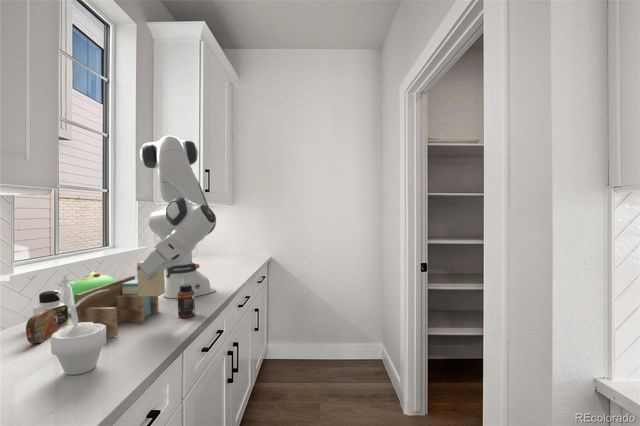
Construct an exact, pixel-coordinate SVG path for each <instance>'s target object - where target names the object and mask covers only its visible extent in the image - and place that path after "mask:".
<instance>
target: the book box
mask: <svg viewBox="0 0 640 426" xmlns="http://www.w3.org/2000/svg"><path fill="white" fill-rule="evenodd" d="M144 261H145V260H142V261H138V262H136V271H137V272H136V273H137V274H136V275H137V280H138V296H158V297H160V296H162V295H164V293H165V287H166V280H165V270H162V271H159V272H156V273H153V274H152V275H151V277H150V278H149V279H148V280H144V279H143V275H144V274H145V273H144V272H143V271H142V270H141V269H140V267H141V265H142V263H143V262H144Z"/></svg>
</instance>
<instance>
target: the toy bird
mask: <svg viewBox="0 0 640 426" xmlns="http://www.w3.org/2000/svg"><path fill="white" fill-rule="evenodd" d="M114 281H117V280H116V279H115V278H114V277H113V276H110V275H108V274H101V273H100V272H99V273H98V272H95V271H91V272H90V273H89V274H88V275H86V276H83V277H81V278H79V279H77V280H76V281H70V282H68V284H69V285H71V288H72V292H73V300H74V305H75V295H76V294H79V293H82V292H85V291H88V290H91V289H94V288H97V287H100V286H103V285H105V284H108V283H111V282H114ZM58 286H59V287H61V288H62V286H60V285H58Z"/></svg>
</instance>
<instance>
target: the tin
mask: <svg viewBox="0 0 640 426" xmlns="http://www.w3.org/2000/svg"><path fill="white" fill-rule="evenodd" d="M59 323H60V318H59V314H58V311H57V310H56V309H55V308H52V309H47V310H43V311H42V312H40V313H38V314H36V315H34V316H33V315H32V316H30V317H29V319H28V320H27V322H26V326H25V331H26V332H25V333H26V338H27V341H28V343H29V344H33V345H34V344H43V343H45V342H46V341H47V340H48V339H51V336H52V334H53V333H55V332H57V331H59V327H60V326H59Z"/></svg>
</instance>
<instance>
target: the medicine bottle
mask: <svg viewBox="0 0 640 426" xmlns="http://www.w3.org/2000/svg"><path fill="white" fill-rule="evenodd" d="M58 291H59V290H54V289H52V290H47V291H43V292H41V293H39V295H38V298H39V299H38V300H39V305H38V306H34V307H33V308H32V312H33V313H32V314H33V315H32V316H34V315H36V314H38V313H40V312H42V311H43V310H47V309H52V308H55V309H56V310H57V311H58V314H59V318H60V323H59V327H62V326H65V325H69V309H68V307H67V306H66V305H65V304H64V302H63V303H61V302H62V292H61V291H59V293H61V295H60V298H59V297H58V296H57V295H56V294H58Z"/></svg>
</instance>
